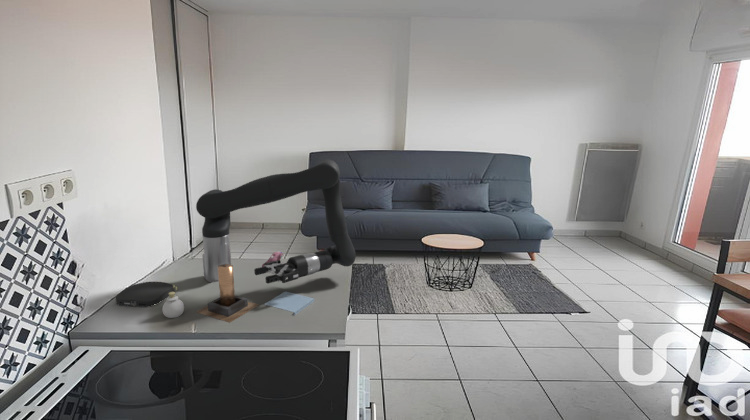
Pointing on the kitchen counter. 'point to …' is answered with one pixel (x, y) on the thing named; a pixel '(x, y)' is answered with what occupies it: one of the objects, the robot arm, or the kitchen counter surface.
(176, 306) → the ornament
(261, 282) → the kitchen counter surface
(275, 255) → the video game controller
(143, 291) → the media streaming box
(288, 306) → the pad
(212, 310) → the board
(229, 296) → the copper rod
